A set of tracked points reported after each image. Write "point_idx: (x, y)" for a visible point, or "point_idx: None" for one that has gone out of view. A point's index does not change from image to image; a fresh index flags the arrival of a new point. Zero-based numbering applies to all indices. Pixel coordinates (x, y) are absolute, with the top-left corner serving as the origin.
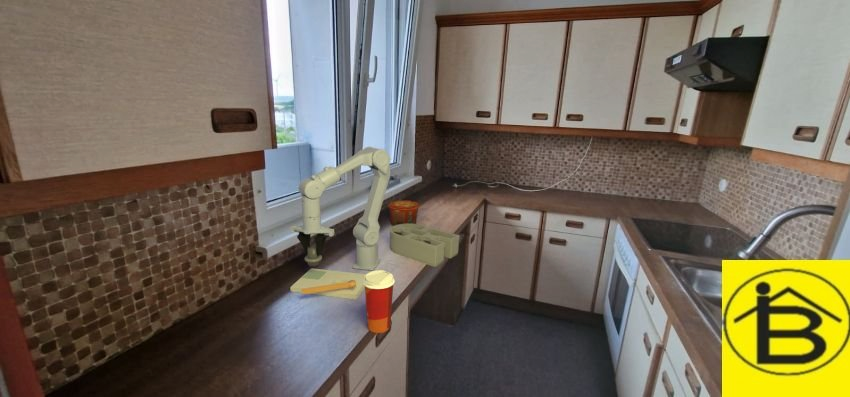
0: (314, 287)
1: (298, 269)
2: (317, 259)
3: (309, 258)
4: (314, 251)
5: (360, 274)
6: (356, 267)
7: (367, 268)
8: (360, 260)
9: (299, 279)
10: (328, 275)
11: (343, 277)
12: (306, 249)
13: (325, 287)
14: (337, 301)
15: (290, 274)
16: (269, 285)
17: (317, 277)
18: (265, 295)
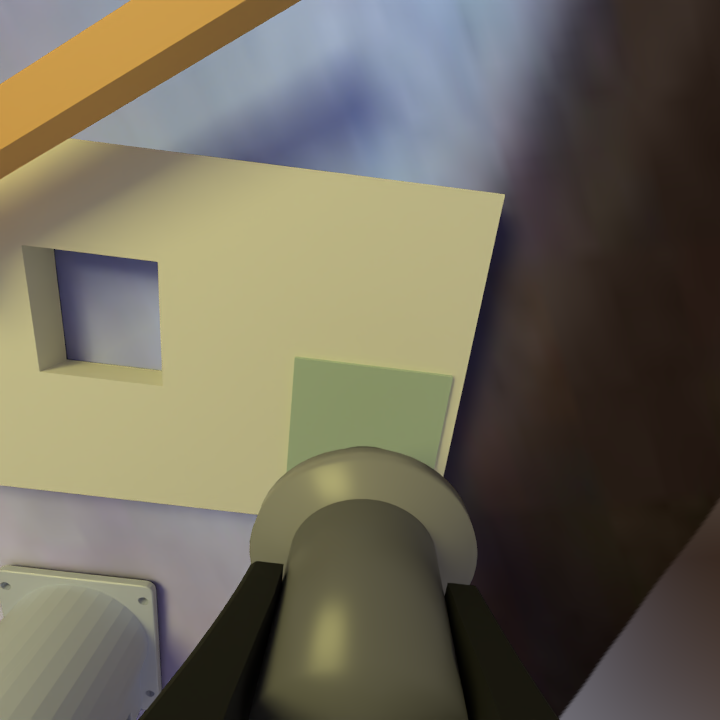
0: (173, 21)
1: (537, 540)
2: (279, 506)
3: (392, 511)
4: (297, 618)
5: (7, 476)
6: (122, 586)
7: (40, 580)
8: (55, 643)
9: (466, 347)
10: (247, 437)
11: (111, 416)
12: (474, 669)
13: (57, 55)
14: (18, 61)
15: (576, 467)
16: (702, 281)
17: (319, 389)
18: (698, 94)
